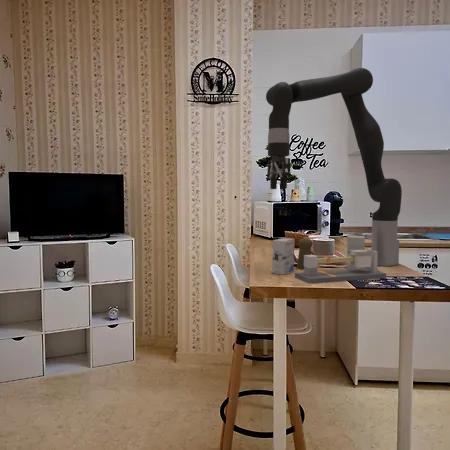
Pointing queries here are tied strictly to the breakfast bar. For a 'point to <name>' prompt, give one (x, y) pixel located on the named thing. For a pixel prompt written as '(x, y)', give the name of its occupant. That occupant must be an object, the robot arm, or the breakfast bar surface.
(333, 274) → the cable board
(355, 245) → the skincare box
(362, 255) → the sleeve
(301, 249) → the olive pawn shape
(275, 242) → the ink box
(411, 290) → the breakfast bar surface
